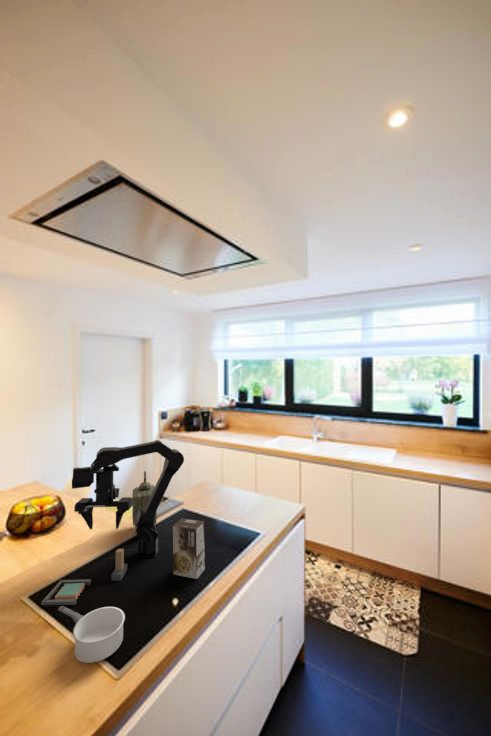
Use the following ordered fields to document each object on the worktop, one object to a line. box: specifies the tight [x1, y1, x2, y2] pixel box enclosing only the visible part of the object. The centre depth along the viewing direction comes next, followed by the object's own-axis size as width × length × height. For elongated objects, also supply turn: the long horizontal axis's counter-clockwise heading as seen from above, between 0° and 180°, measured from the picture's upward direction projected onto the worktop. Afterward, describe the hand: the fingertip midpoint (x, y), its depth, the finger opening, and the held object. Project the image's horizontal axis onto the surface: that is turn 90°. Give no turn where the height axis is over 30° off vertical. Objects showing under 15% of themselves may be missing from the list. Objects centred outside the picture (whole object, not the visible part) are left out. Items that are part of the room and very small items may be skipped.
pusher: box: [110, 548, 128, 582], centre depth 105 cm, size 3×6×8 cm, turn 2°
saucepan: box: [57, 606, 126, 664], centre depth 78 cm, size 12×20×6 cm, turn 66°
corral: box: [40, 578, 92, 607], centre depth 95 cm, size 10×10×1 cm
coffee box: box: [172, 517, 206, 580], centre depth 107 cm, size 9×6×16 cm
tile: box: [54, 583, 86, 600], centre depth 95 cm, size 6×6×2 cm
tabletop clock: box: [131, 471, 158, 526], centre depth 136 cm, size 14×9×25 cm, turn 22°
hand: (104, 528), depth 112 cm, fingers open, 9 cm apart
